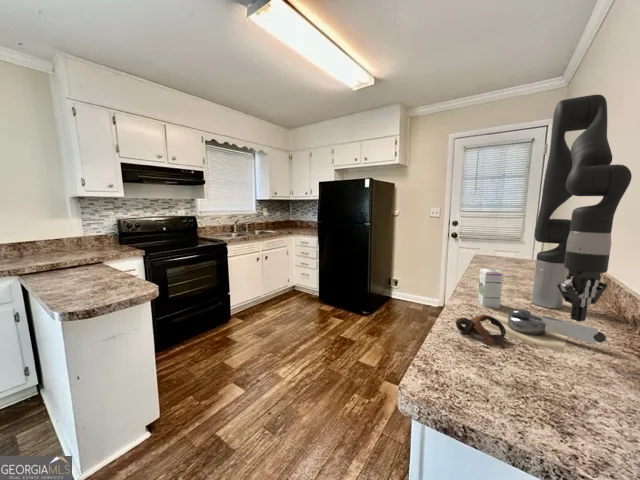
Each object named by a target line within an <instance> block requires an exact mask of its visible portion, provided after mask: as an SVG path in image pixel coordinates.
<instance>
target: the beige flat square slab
mask: <svg viewBox="0 0 640 480" xmlns="http://www.w3.org/2000/svg"><path fill="white" fill-rule="evenodd" d="M508 316H509V314H506V313H503V312H498V313H497V314H496V315H495V316H494V317H493V318H495V319H497V320H498V321H499V322H501V324H502V325H503V326H504V328H505V330H506V334H505V336H506V337H509V338H513V339H515V340H516V339H517V340H520V341H523V342H526V343H529V344H533V345H536V346H539V347H542V348H546V349H548V350H553V351H556V352H559V353H564V349H565V347H566V344H567V341H568V338H569V337H567V336H563V335H560V334H556V333H552V332H548V331H546V334H545V335H541V336H535V335H528V334H524V333H521V332H518V331H515V330H513V329H511V328H510V327H509V326H508ZM488 321H489V320H488ZM483 327H484V328H485V329H486V330H487V331H489V332H493V333H495V334H498V335H500V334H501V331H500V329H499V327H498V326H496V325H493V324H491V321H489V322H487V323H486V324H485V325H483Z"/></svg>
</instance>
